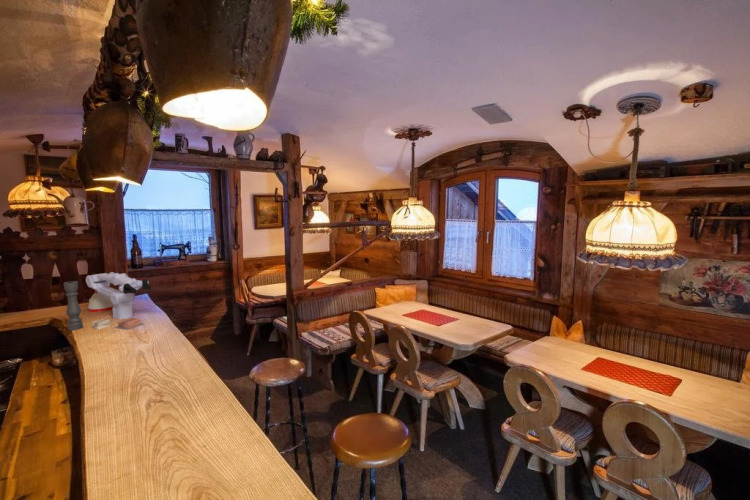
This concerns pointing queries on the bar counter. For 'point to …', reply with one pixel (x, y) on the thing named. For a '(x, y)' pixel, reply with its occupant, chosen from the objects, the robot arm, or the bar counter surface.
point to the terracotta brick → (128, 323)
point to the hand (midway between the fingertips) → (142, 289)
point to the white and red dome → (99, 303)
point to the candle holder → (73, 306)
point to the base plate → (128, 328)
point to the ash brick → (101, 324)
